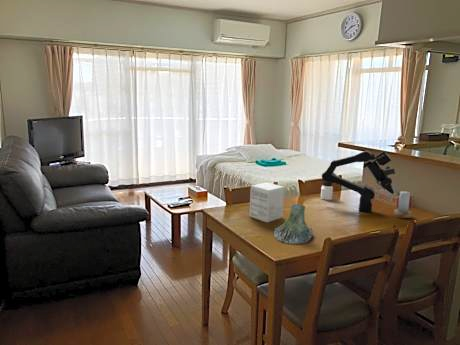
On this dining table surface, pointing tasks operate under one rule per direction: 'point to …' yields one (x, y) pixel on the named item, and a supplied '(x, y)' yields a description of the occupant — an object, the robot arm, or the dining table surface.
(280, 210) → the supplement box
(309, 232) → the tree stump
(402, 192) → the pale blue small block
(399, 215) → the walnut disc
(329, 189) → the medicine bottle
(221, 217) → the dining table surface
